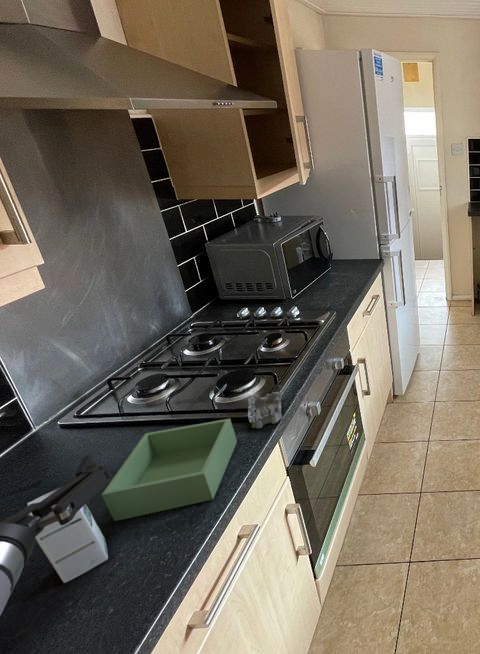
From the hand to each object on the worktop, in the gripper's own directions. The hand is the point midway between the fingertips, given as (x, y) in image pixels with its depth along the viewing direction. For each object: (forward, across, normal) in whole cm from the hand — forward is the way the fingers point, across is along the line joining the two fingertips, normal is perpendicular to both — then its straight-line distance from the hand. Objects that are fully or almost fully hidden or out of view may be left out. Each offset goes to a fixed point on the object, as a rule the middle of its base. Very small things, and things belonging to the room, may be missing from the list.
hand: (30, 487), depth 64 cm
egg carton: (+28, +33, -16) cm, 46 cm away
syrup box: (+7, 0, -19) cm, 20 cm away
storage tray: (+18, +14, -17) cm, 28 cm away
